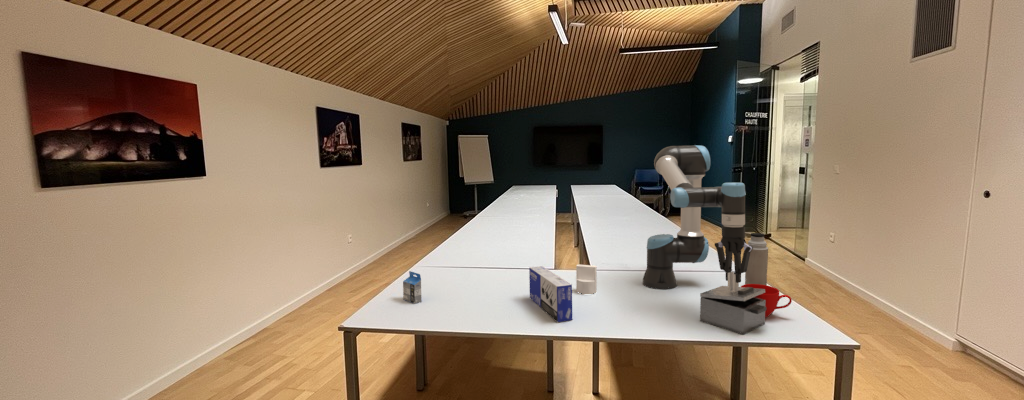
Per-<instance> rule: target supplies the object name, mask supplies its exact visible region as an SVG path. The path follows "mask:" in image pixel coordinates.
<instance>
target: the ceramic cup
mask: <svg viewBox="0 0 1024 400" xmlns="http://www.w3.org/2000/svg"><path fill="white" fill-rule="evenodd" d="M740 287H745V288H746V287H753V288H758V289H765V293H763V294H760V295H758V296H755V297H756V298H760V299H764V300H766V304H765V307H766V311H765V318H768V317H769V316H770V315H771V314H773V312H774V311H775V310H780V309H784V308H787V307H789V306H790V305H791V303H792V301H793V300H792V299H793V298H791V296H790V295H788V294H781V295H780V290H779V289H778V288H776V287H773V286H769V285H768V284H767V285H761V284H745V283H744V284H742V285H740ZM782 298H788V299H789V300H788V303H786V304H784V305H779V306H778V304H779V301H780V300H781V299H782Z"/></svg>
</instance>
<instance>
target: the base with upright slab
mask: <svg viewBox="0 0 1024 400" xmlns="http://www.w3.org/2000/svg"><path fill="white" fill-rule="evenodd" d="M575 266H576V269H575V271H576V272H575V274H576V276H575V279H576V283H575V284H576V285H575V286H576V287H575V289H576V291H577V292H579V293H582V294H593V293H596V292H597V290H598V289H597V286H598V285H597V283H598V282H597V279H598V278H597V276H598V273H597V268H598V266H597V265H591V264H579V263H578V264H576V265H575ZM577 292H576V293H577ZM579 293H578V294H579ZM597 293H598V292H597ZM597 293H596V294H597ZM582 294H581V295H582ZM593 295H594V294H593Z"/></svg>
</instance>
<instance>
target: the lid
mask: <svg viewBox="0 0 1024 400" xmlns="http://www.w3.org/2000/svg"><path fill="white" fill-rule="evenodd" d="M763 293H765V289H758V288H753V287H746V288H745V287H741V286H739V291H736V292H733V290H731V291H728V285H720V286H718V287H715V288H712V289H709V290H707V291H704V292H701V293H700V294H699V295H700V298H701V297H707V298H717V299H727V300H736V301H746V300H748V299H751V298H753V297H755V296H758V295H760V294H763Z"/></svg>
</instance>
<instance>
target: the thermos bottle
mask: <svg viewBox="0 0 1024 400" xmlns="http://www.w3.org/2000/svg"><path fill="white" fill-rule="evenodd" d="M747 242H748V243H747V245H749V246H752V247H753V249H752V251H751V252H750V257H749V262H748V267H747V271H746V272H744V273H745V274H744V275H745V276H744V285H745V284H761V285H767V286H768V265H769V264H768V263H769V247H768V245H767V244H768V243H767V241H766V240H765V234H764V233H761V232H751V233H750V239H749V240H748V241H747Z"/></svg>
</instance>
